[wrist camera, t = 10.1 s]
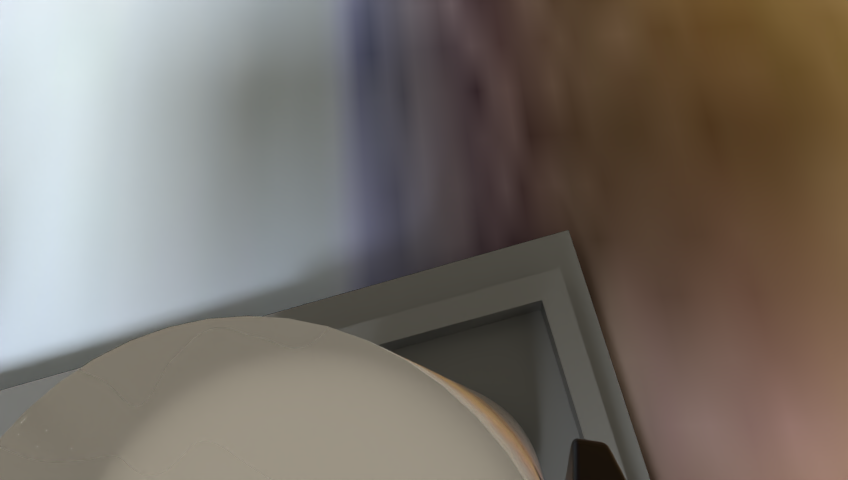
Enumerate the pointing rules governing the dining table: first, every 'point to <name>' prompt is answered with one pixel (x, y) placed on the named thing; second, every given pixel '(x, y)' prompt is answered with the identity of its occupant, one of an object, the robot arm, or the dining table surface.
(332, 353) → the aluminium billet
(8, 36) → the dining table surface
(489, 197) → the dining table surface
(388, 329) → the tray
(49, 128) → the dining table surface
